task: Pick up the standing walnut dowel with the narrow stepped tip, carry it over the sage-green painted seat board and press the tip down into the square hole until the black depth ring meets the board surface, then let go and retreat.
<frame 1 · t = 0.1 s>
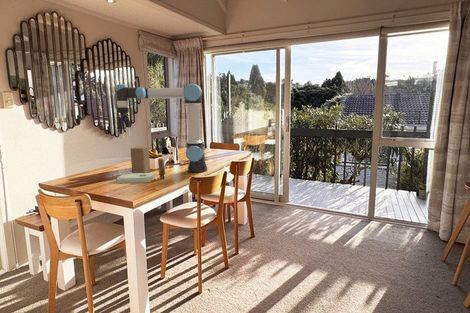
hand: (125, 137, 212), 28 cm above the table, fingers open, 13 cm apart
wooden block: (141, 174, 223), on the table
seat board: (136, 179, 205), on the table
walnut peg: (162, 178, 207), on the table
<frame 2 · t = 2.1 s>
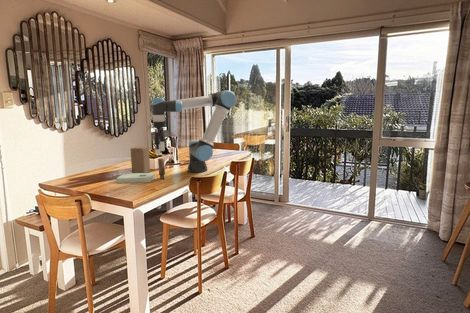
hand: (160, 152, 204), 19 cm above the table, fingers open, 13 cm apart
nothing on the table moved.
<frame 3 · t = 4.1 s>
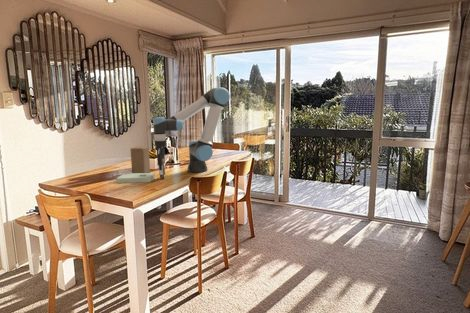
hand: (161, 173, 207), 4 cm above the table, fingers closed on walnut peg, 4 cm apart
walnut peg: (162, 178, 207), on the table, touching gripper
everything else where it was.
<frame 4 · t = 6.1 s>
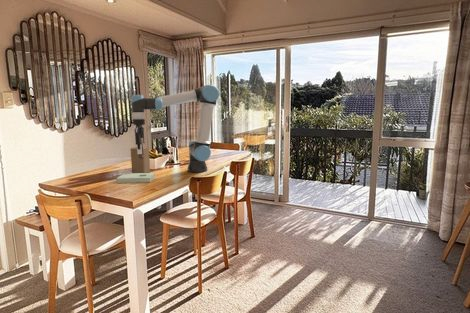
hand: (140, 153, 202), 18 cm above the table, fingers closed on walnut peg, 4 cm apart
walnut peg: (141, 158, 202), point 15 cm above the table, touching gripper
everything else where it was.
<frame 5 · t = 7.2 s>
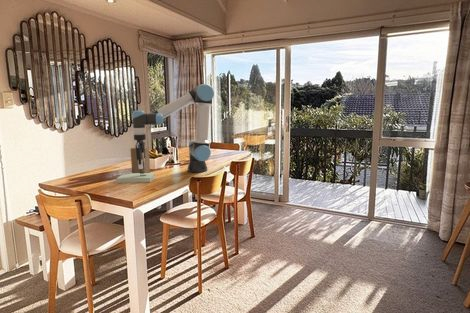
hand: (141, 168, 203), 8 cm above the table, fingers closed on walnut peg, 4 cm apart
walnut peg: (142, 173, 204), point 5 cm above the table, touching gripper
everything else where it was.
when the fingers open (5 cm above the table, at t = 8.1 s): walnut peg stays where it is, resting in seat board.
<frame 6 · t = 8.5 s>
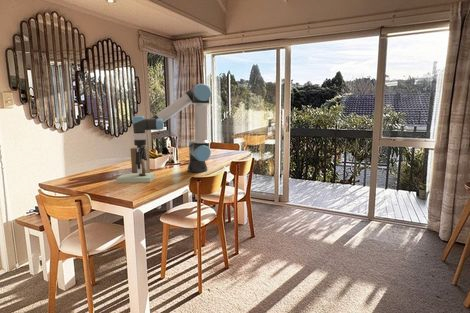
hand: (142, 171, 204), 6 cm above the table, fingers open, 10 cm apart
walnut peg: (142, 179, 205), resting in seat board
everything else where it was.
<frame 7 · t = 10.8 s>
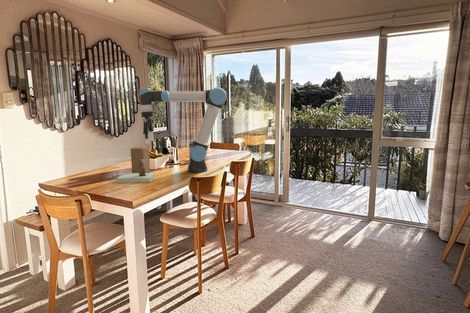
hand: (149, 142, 208), 25 cm above the table, fingers open, 13 cm apart
nothing on the table moved.
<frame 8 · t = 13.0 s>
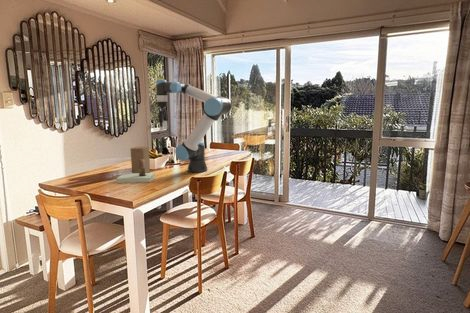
hand: (163, 130, 223), 32 cm above the table, fingers open, 13 cm apart
nothing on the table moved.
at the end: walnut peg 0.0 cm from the target spot on the seat board, point 0.0 cm above the seat board's base; walnut peg tilted 0°; the gripper is holding nothing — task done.
